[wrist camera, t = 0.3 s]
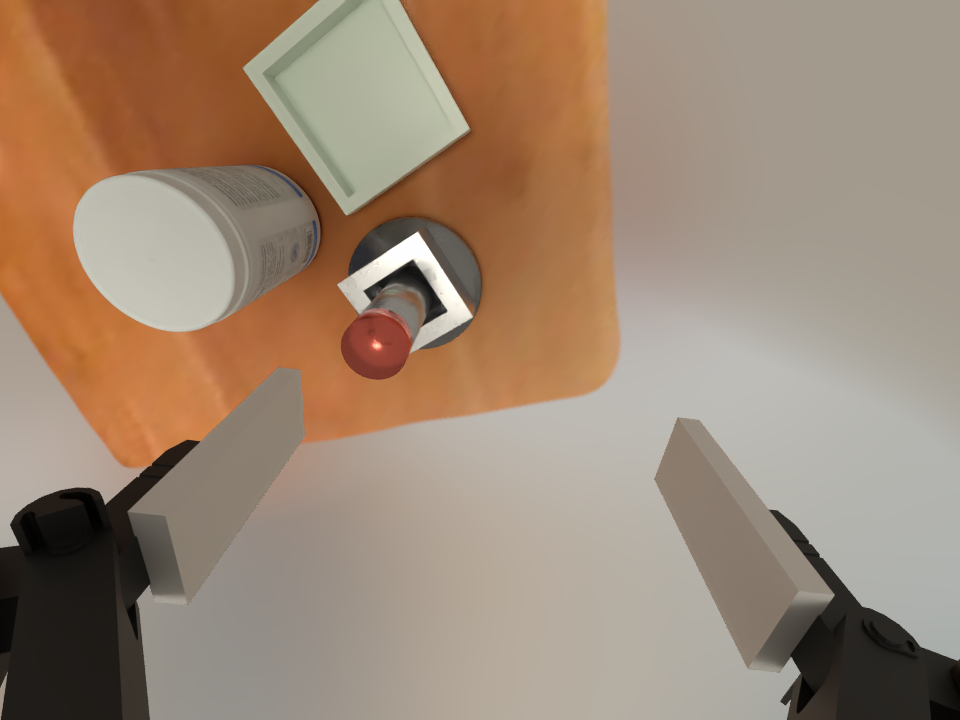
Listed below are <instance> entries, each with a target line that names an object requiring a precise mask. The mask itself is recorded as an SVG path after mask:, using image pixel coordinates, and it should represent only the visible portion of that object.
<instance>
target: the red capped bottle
mask: <svg viewBox="0 0 960 720" xmlns="http://www.w3.org/2000/svg"><path fill="white" fill-rule="evenodd" d="M435 296H436V292H435V291H434V289H433V288H432V286H431V285H430V283H429V282H428V280H427V279H426V277H425V276H424V275H423V273H422V272H421V270H420V269H419V267H418V266H408V267H405V268H403V269H401V270H400V271H398V272H397V273H396V275H395V276H394V277H393V278H392V279H391V280H390V281H389V282H388V284H387V285H386V286H385V287H384V288H383V289H382V290H381V291H380V293H379V294H378V295H377V296H376V297H375V298H374V299H373V300H372V302H371V303H370V304H369V305H368V306H367V307H366V308H365V309H364V310H363V312H362V313H361V314H360V315H359V316H358V317H357V318H356V319H355V321H354V322H353V323H352V324H351V325H350V326H349V327H348V328H347V330H346V331H345V333H344V335H343V337H342V341H341V351H342V355H343V357H344V359H345V361H346V363H347V364H348V365H349V367H350V368H351V369H352V370H354V371H355V372H356V373H358V374H359V375H361V376H363V377H366V378H369V379H377V380H379V379H386V378H389V377H392V376H394V375H395V374H397V373H398V372H399V371H400V370H401V369H402V367H403V366H404V364H405V362H406V359H407V357H408V355H409V353H410V351H411V348H412V346H413V344H414V342H415V340H416V338H417V335H418V333H419V331H420V329H421V327H422V324H423V322H424V320H425V318H426V316H427V313H428V311H429V309H430V307H431V305H432V302H433V300H434V298H435Z"/></svg>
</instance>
